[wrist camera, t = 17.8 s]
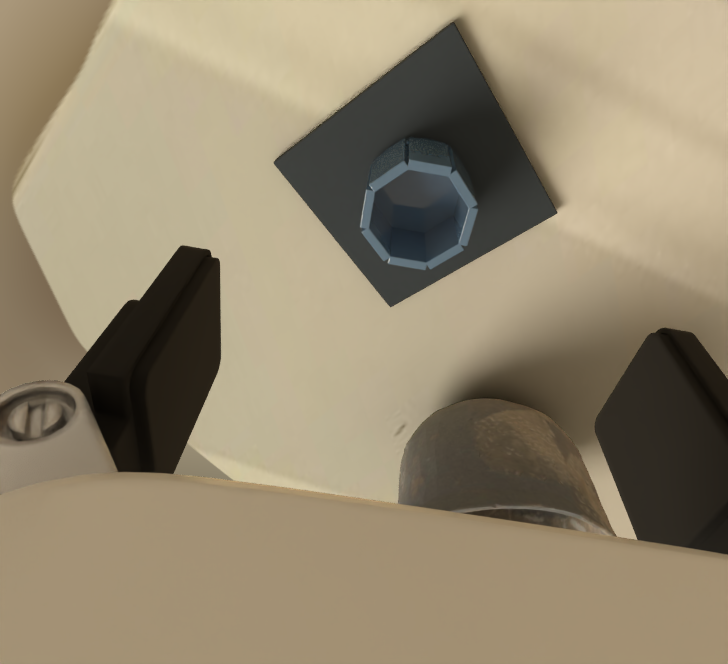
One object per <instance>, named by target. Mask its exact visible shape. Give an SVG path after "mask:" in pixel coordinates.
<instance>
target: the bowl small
mask: <svg viewBox="0 0 728 664" xmlns="http://www.w3.org/2000/svg"><path fill="white" fill-rule="evenodd" d="M477 204H478V203H477V199H476V196H475V192H474V189H473V185H472V182H471V178H470V176H469V174H468V173H467V171H466V169H465V168H464V166H463V164H462V162H461V160H460V159H459V158H458V156H457V155H456V153H455V151H454V150H453V148H452V147H449V148H448V145H447V143H442V142H438V141H435V140H431V139H427V138H414V137H409V139H405V138H403V139H402V140H401V141H399V142H398V143H396V144H394V145H392V146H390V147H389V148H387V149H386V150H385V151H384V152H383V153H382V154H381V155H379V156H378V157H377V158H375V159H374V160H373V164H371V165H370V169H369V175H368V180H367V186H366V191H365V197H364V203H363V210H362V216H361V222H360V228H362V230H361V233H362V234H363V235H364V237H365V238H366V239H367V241H368V242H369V243H370V244H371V246H372V247H373V248H374V250H375V251H376V252H377V253H378V255H379V256H380V257H381V259H382V260H383V261H385V260H387V259H388V264H392V265H398V266H404V267H409V268H415V269H421V270H426V267H427V266H428V267H429V269H432V268H434V267H436V266H437V265H439V264H441V263H443V262H444V261H446V260H448V259H450V258H451V257H453V256H455V255H456V254H458V253H460V252H462V251H463V250H464V247H463V246H467V245H468V242H469V239H470V236H471V232H472V229H473V226H474V222H475V219H476V216H477V212H478V206H477Z"/></svg>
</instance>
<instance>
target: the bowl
mask: <svg viewBox="0 0 728 664" xmlns="http://www.w3.org/2000/svg"><path fill="white" fill-rule="evenodd" d="M398 504H403V505H410V506H417V507H424V508H430V509H437V510H444V511H450V512H457V513H464V514H470V515H477V516H484V517H490V518H497V519H504V520H510V521H517V522H523V523H530V524H537V525H543V526H550V527H556V528H563V529H570V530H576V531H583V532H589V533H595V534H602V535H608V536H615V537H617V536H616V534H615V533H614V531H613V529H612V527H611V525H610V523H609V520H608V518H607V515H606V513H605V511H604V509H603V507H602V505H601V502H600V500H599V497H598V494H597V492H596V489H595V487H594V484H593V482H592V480H591V478H590V475H589V473H588V471H587V468H586V466H585V464H584V462H583V460H582V457H581V455H580V453H579V451H578V449H577V448H576V446H575V445H574V443H573V442H572V441H571V439H570V438H569V437H568V436H567V434H566V433H565V432H564V431H563V430H562V428H561V427H560V426H558V425H557V424H556V423H555V422H554V421H553V420H552V419H551V418H550V417H548V416H547V415H545V414H544V413H542V412H539V411H537V410H535V409H532V408H530V407H527V406H524V405H521V404H517V403H513V402H509V401H505V400H501V399H487V398H481V399H471V400H466V401H462V402H458V403H456V404H453V405H451V406H448V407H446V408H443V409H440V410H438V411H436V412H435V413H433V414H432V415H431V416H430V417H428V418H427V419H426V420H425V421H424V422H423V423H422V424H421V425H420V426H419V427H418V429H417V430H416V431H415V433H414V434H413V436H412V437H411V438H410V440H409V441H408V443H407V444H406V447H405V450H404V455H403V457H402V461H401V468H400V478H399V500H398Z"/></svg>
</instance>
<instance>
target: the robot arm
mask: <svg viewBox="0 0 728 664" xmlns="http://www.w3.org/2000/svg"><path fill="white" fill-rule="evenodd" d="M220 360H221V322H220V261H219V259H218V258H213V257H212V256H211V252H210V250H207V249H201V248H195V247H189V246H180V247H179V248H178V250H177V251H176V252H175V254H174V255H173V256H172V258H171V259H170V260H169V262H168V263H167V264H166V266H165V267H164V268H163V270H162V271H161V272H160V274H159V275H158V276H157V278H156V279H155V281H154V282H153V283H152V285H151V286H150V287H149V289H148V290H147V291H146V293H145V294H144V295H143V297H142V298H141V299H140V301H138V300H130V301H128V302H127V303H126V304H125V305H124V306H123V307H122V309H121V310H120V311H119V312H118V314H117V315H116V316H115V318H114V319H113V320H112V321H111V323H110V324H109V325H108V327H107V328H106V329H105V330H104V332H103V333H102V334H101V336H100V337H99V338H98V339H97V341H96V342H95V343H94V345H93V346H92V347H91V348H90V350H89V351H88V352H87V353H86V355H85V356H84V357H83V359H82V360H81V361H80V362H79V364H78V365H77V366H76V368H75V369H74V370H73V371H72V373H71V374H70V375H69V377H68V378H67V379H66V380H65V382H60V381H36V382H31V383H25V384H22V385H19V386H17V387H14V388H11V389H9V390H7V391H5V392H4V393H2V394H0V664H728V379H727V378H726V376H725V375H724V374H723V372H722V371H721V370H720V368H719V367H718V366H717V364H716V363H715V362H714V360H713V359H712V358H711V356H710V355H709V354H708V352H707V351H706V350H705V348H704V347H703V346H702V344H701V343H700V342H699V340H698V339H697V338H696V336H695V335H694V334H693V333H691V332H686V331H681V330H675V329H669V328H661V329H659V330H658V331H657V332H656V333H651V334H649V335H648V336H647V338H646V339H645V341H644V342H643V344H642V346H641V347H640V349H639V350H638V352H637V354H636V355H635V357H634V358H633V360H632V362H631V363H630V365H629V366H628V368H627V370H626V371H625V373H624V374H623V376H622V378H621V379H620V381H619V382H618V384H617V386H616V387H615V389H614V390H613V392H612V394H611V395H610V397H609V398H608V400H607V402H606V403H605V405H604V406H603V408H602V410H601V411H600V413H599V414H598V416H597V418H596V421H595V432H596V435H597V438H598V440H599V443H600V445H601V448H602V451H603V453H604V456H605V458H606V461H607V463H608V466H609V468H610V471H611V473H612V476H613V478H614V481H615V483H616V486H617V488H618V491H619V494H620V496H621V499H622V501H623V504H624V506H625V509H626V511H627V514H628V516H629V519H630V521H631V524H632V526H633V529H634V531H635V534H636V537H637V539H638V540H634V539H627V538H621V537H615V536H608V535H602V534H595V533H589V532H583V531H576V530H570V529H563V528H556V527H550V526H543V525H537V524H530V523H523V522H517V521H510V520H504V519H497V518H490V517H484V516H477V515H470V514H464V513H457V512H450V511H444V510H437V509H430V508H424V507H417V506H410V505H403V504H396V503H389V502H382V501H375V500H369V499H362V498H355V497H348V496H341V495H334V494H327V493H320V492H313V491H306V490H300V489H293V488H285V487H278V486H270V485H262V484H254V483H247V482H239V481H231V480H224V479H216V478H208V477H199V476H187V475H177V474H173V473H174V471H175V469H176V466H177V464H178V462H179V460H180V457H181V455H182V453H183V450H184V448H185V446H186V444H187V441H188V439H189V437H190V434H191V432H192V430H193V428H194V425H195V423H196V421H197V418H198V416H199V414H200V412H201V409H202V407H203V405H204V402H205V400H206V398H207V396H208V393H209V391H210V389H211V386H212V384H213V382H214V380H215V377H216V375H217V373H218V370H219V366H220Z"/></svg>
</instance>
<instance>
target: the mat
mask: <svg viewBox="0 0 728 664" xmlns="http://www.w3.org/2000/svg"><path fill="white" fill-rule="evenodd" d="M409 137H414V138H427V139H431V140H435V141H438V142H442V143H447V145H448V148H449V147H452V148H453V150H454V151H455V153H456V155H457V156H458V158H459V159H460V160H461V162H462V164H463V166H464V168H465V169H466V171H467V173H468V174H469V176H470V178H471V182H472V185H473V189H474V192H475V196H476V199H477V203H478V204H477V206H478V212H477V216H476V219H475V222H474V226H473V229H472V232H471V236H470V239H469V242H468V245H467V246H463V247H464V250H463V251H462V252H460V253H458V254H456V255H455V256H453V257H451V258H450V259H448V260H446V261H444V262H443V263H441V264H439V265H437V266H436V267H434V268H432V269H429V267H428V266H427V267H426V270H421V269H415V268H409V267H404V266H398V265H392V264H388V259H387V260H385V261H383V260H382V259H381V257H380V256H379V255H378V253H377V252H376V251H375V250H374V248H373V247H372V246H371V244H370V243H369V242H368V241H367V239H366V238H365V237H364V235H363V234H362V233H361V230H362V228H360V222H361V216H362V210H363V203H364V197H365V191H366V186H367V180H368V175H369V169H370V165H371V164H373V160H374V159H375V158H377V157H378V156H379V155H381V154H382V153H383V152H384V151H385V150H386V149H387V148H389V147H390V146H392V145H394V144H396V143H398V142H399V141H401V140H402V139H403V138H405V139H409ZM274 164H275V166H276V167H277V168H278V169H279V170H280V172H281V173H282V174H283V175H284V177H285V178H286V179H287V180H288V182H289V183H290V184H291V185H292V187H293V188H294V189H295V190H296V191H297V193H298V194H299V195H300V196H301V198H302V199H303V200H304V201H305V203H306V204H307V205H308V206H309V208H310V209H311V210H312V211H313V212H314V214H315V215H316V216H317V217H318V219H319V220H320V221H321V222H322V224H323V225H324V226H325V227H326V229H327V230H328V231H329V232H330V233H331V235H332V236H333V237H334V238H335V240H336V241H337V242H338V243H339V245H340V246H341V247H342V248H343V249H344V251H345V252H346V253H347V254H348V256H349V257H350V258H351V259H352V261H353V262H354V263H355V264H356V266H357V267H358V268H359V269H360V270H361V272H362V273H363V274H364V275H365V277H366V278H367V279H368V280H369V282H370V283H371V284H372V285H373V287H374V288H375V289H376V290H377V291H378V293H379V294H380V295H381V296H382V298H383V299H384V300H385V301H386V303H387V304H388V305H389V306H390V307H392V306H394V305H395V304H397V303H399V302H401V301H403V300H404V299H406V298H408V297H410V296H411V295H413V294H415V293H417V292H419V291H420V290H422V289H424V288H426V287H427V286H429V285H431V284H433V283H435V282H436V281H438V280H440V279H442V278H443V277H445V276H447V275H449V274H451V273H452V272H454V271H456V270H458V269H459V268H461V267H463V266H465V265H466V264H468V263H470V262H472V261H474V260H475V259H477V258H479V257H481V256H482V255H484V254H486V253H488V252H490V251H491V250H493V249H495V248H497V247H498V246H500V245H502V244H504V243H506V242H507V241H509V240H511V239H513V238H514V237H516V236H518V235H520V234H522V233H523V232H525V231H527V230H529V229H530V228H532V227H534V226H536V225H538V224H539V223H541V222H543V221H545V220H546V219H548V218H550V217H552V216H553V215H555V214H557V211H556V209H555V207H554V205H553V204H552V202H551V200H550V198H549V196H548V194H547V193H546V191H545V189H544V187H543V185H542V183H541V182H540V180H539V178H538V176H537V174H536V172H535V171H534V169H533V167H532V165H531V163H530V161H529V159H528V158H527V156H526V154H525V152H524V150H523V148H522V147H521V145H520V143H519V141H518V139H517V137H516V136H515V134H514V132H513V130H512V128H511V126H510V125H509V123H508V121H507V119H506V117H505V115H504V114H503V112H502V110H501V108H500V106H499V104H498V103H497V101H496V99H495V97H494V95H493V93H492V92H491V90H490V88H489V86H488V84H487V82H486V81H485V79H484V77H483V75H482V73H481V71H480V69H479V68H478V66H477V64H476V62H475V60H474V58H473V57H472V55H471V53H470V51H469V49H468V47H467V46H466V44H465V42H464V40H463V38H462V36H461V35H460V33H459V31H458V29H457V27H456V25H455V24H454V22H452V23H450V24H449V25H448V26H446V27H445V28H444V29H443V30H441V31H440V32H439V33H437V34H436V35H435V36H434V37H432V38H431V39H430V40H428V41H427V42H426V43H425V44H423V45H422V46H421V47H420V48H418V49H417V50H416V51H414V52H413V53H412V54H411V55H409V56H408V57H407V58H405V59H404V60H403V61H402V62H400V63H399V64H398V65H396V66H395V67H394V68H393V69H391V70H390V71H389V72H388V73H386V74H385V75H384V76H382V77H381V78H380V79H379V80H377V81H376V82H375V83H373V84H372V85H371V86H370V87H368V88H367V89H366V90H364V91H363V92H362V93H361V94H359V95H358V96H357V97H355V98H354V99H353V100H352V101H350V102H349V103H348V104H347V105H345V106H344V107H343V108H341V109H340V110H339V111H338V112H336V113H335V114H334V115H332V116H331V117H330V118H329V119H327V120H326V121H325V122H323V123H322V124H321V125H320V126H318V127H317V128H316V129H315V130H313V131H312V132H311V133H309V134H308V135H307V136H306V137H304V138H303V139H302V140H300V141H299V142H298V143H297V144H295V145H294V146H293V147H291V148H290V149H289V150H288V151H286V152H285V153H284V154H282V155H281V156H280V157H279V158H277V159H276V160H275V161H274Z"/></svg>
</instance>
